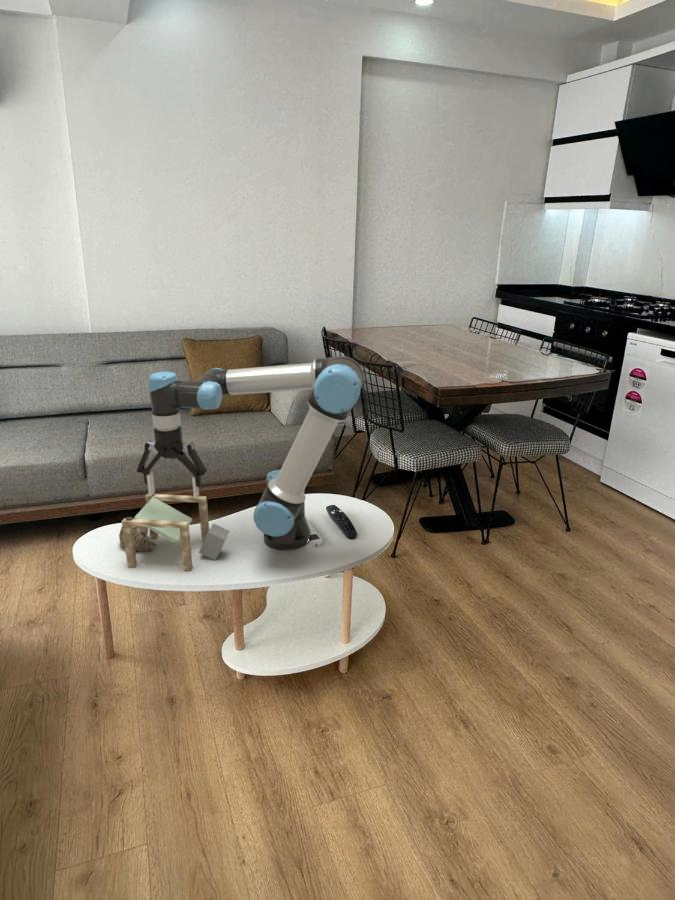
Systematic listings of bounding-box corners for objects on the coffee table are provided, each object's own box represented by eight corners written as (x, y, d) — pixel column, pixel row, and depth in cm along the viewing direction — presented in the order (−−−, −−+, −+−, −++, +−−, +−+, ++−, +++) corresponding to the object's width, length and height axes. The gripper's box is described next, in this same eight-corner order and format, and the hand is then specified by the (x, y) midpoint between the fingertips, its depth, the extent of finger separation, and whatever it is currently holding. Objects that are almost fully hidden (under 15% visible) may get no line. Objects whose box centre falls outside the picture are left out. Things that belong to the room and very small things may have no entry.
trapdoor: (187, 527, 190) (192, 519, 189) (172, 550, 177) (177, 540, 176) (148, 505, 189) (153, 496, 187) (129, 526, 176) (134, 517, 174)
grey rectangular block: (213, 523, 184) (204, 543, 187) (207, 532, 178) (198, 552, 181) (229, 531, 184) (220, 551, 187) (224, 539, 179) (215, 560, 182)
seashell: (134, 544, 198) (117, 520, 195) (161, 530, 199) (145, 506, 195) (127, 565, 186) (109, 539, 182) (156, 550, 186) (139, 524, 182)
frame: (209, 539, 194) (206, 494, 188) (190, 571, 176) (185, 523, 170) (152, 536, 195) (147, 492, 190) (127, 567, 178) (121, 519, 172)
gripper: (214, 424, 173) (219, 491, 181) (130, 421, 176) (138, 487, 183) (206, 432, 166) (211, 502, 174) (119, 429, 169) (128, 498, 176)
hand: (174, 495), depth 178 cm, fingers open, 13 cm apart
